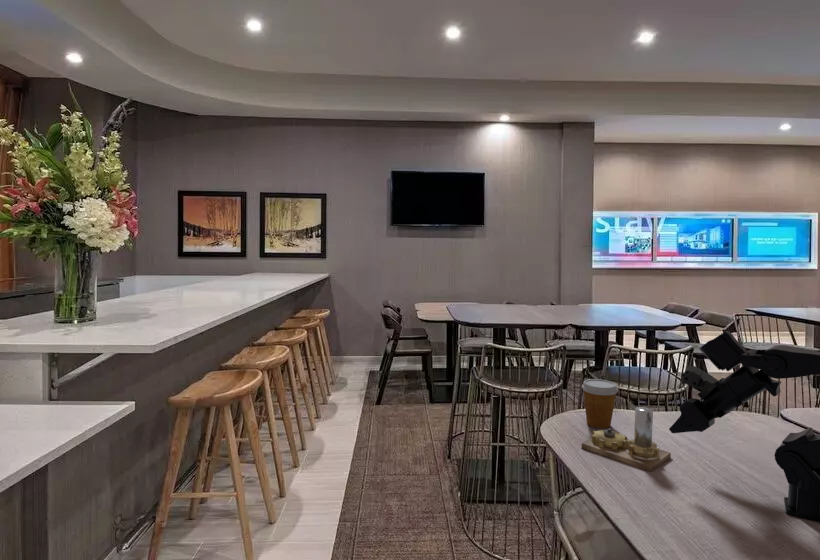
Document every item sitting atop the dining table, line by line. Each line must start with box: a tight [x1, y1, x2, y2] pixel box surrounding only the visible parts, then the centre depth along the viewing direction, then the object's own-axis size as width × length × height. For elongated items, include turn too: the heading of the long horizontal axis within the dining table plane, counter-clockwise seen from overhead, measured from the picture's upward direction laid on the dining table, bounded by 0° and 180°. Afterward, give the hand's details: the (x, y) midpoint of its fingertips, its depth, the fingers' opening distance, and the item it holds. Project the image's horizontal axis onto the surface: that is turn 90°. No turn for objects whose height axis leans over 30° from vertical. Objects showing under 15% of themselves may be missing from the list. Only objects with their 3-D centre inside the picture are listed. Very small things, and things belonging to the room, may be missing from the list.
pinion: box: [627, 406, 660, 459], centre depth 115 cm, size 7×7×10 cm
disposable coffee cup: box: [581, 378, 619, 429], centre depth 137 cm, size 10×10×12 cm
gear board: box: [581, 427, 672, 472], centre depth 119 cm, size 17×11×5 cm, turn 41°
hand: (678, 426), depth 109 cm, fingers open, 9 cm apart
